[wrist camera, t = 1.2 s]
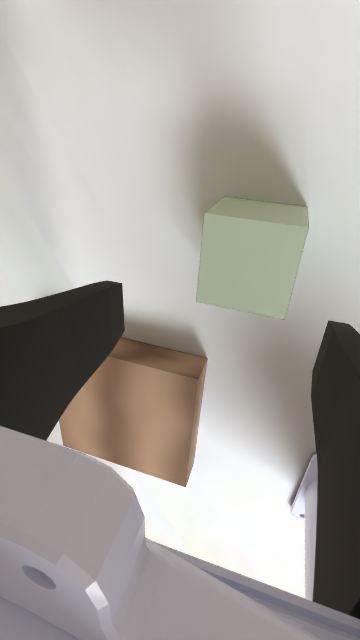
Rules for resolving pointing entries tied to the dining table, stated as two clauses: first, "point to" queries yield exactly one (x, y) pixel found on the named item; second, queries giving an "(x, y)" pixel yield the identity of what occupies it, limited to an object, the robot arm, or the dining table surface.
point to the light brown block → (140, 410)
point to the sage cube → (251, 255)
